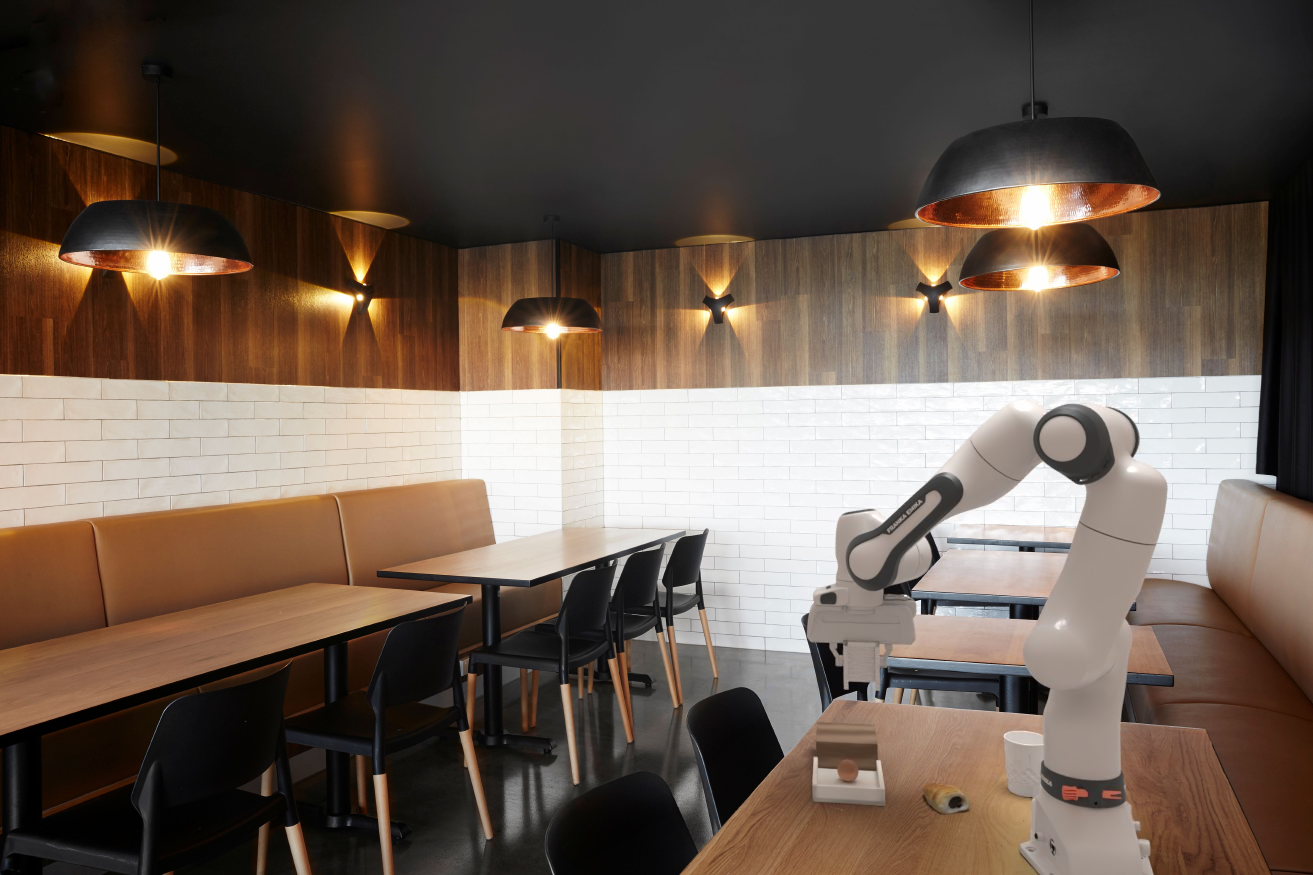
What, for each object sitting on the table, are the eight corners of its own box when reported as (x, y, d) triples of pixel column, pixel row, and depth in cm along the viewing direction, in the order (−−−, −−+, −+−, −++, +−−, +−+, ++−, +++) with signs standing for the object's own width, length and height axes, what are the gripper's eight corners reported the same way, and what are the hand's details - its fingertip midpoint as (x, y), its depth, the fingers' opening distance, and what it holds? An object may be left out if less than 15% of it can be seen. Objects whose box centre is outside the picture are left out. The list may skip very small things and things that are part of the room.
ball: (858, 785, 170) (858, 777, 167) (837, 783, 171) (837, 776, 168) (858, 764, 173) (858, 756, 170) (837, 763, 174) (837, 755, 171)
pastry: (913, 795, 166) (913, 775, 166) (945, 791, 167) (945, 771, 167) (941, 816, 156) (941, 794, 156) (975, 812, 158) (974, 790, 158)
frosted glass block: (880, 690, 166) (879, 642, 166) (844, 689, 167) (843, 641, 167) (878, 681, 172) (877, 634, 172) (843, 679, 173) (842, 633, 173)
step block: (878, 774, 176) (877, 744, 176) (816, 770, 178) (816, 741, 178) (875, 752, 187) (874, 724, 187) (817, 749, 190) (816, 721, 190)
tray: (885, 805, 161) (885, 789, 161) (812, 801, 163) (812, 785, 163) (880, 775, 175) (880, 760, 175) (813, 771, 178) (813, 756, 178)
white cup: (1056, 789, 167) (1055, 736, 167) (1041, 802, 161) (1040, 747, 161) (1014, 779, 172) (1013, 727, 172) (997, 791, 166) (996, 738, 166)
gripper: (914, 591, 170) (915, 663, 170) (806, 589, 174) (808, 660, 174) (917, 597, 164) (919, 672, 164) (805, 595, 168) (807, 668, 168)
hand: (861, 665), depth 169 cm, fingers closed on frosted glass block, 7 cm apart
